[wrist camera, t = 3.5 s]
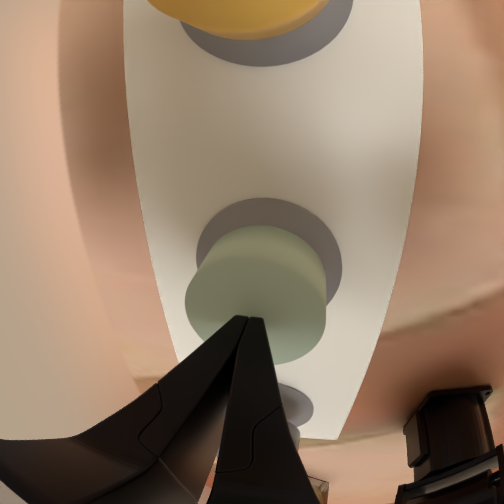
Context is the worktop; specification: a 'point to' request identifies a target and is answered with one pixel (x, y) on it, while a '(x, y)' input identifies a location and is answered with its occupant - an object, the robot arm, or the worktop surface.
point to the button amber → (242, 16)
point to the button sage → (262, 289)
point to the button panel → (283, 167)
